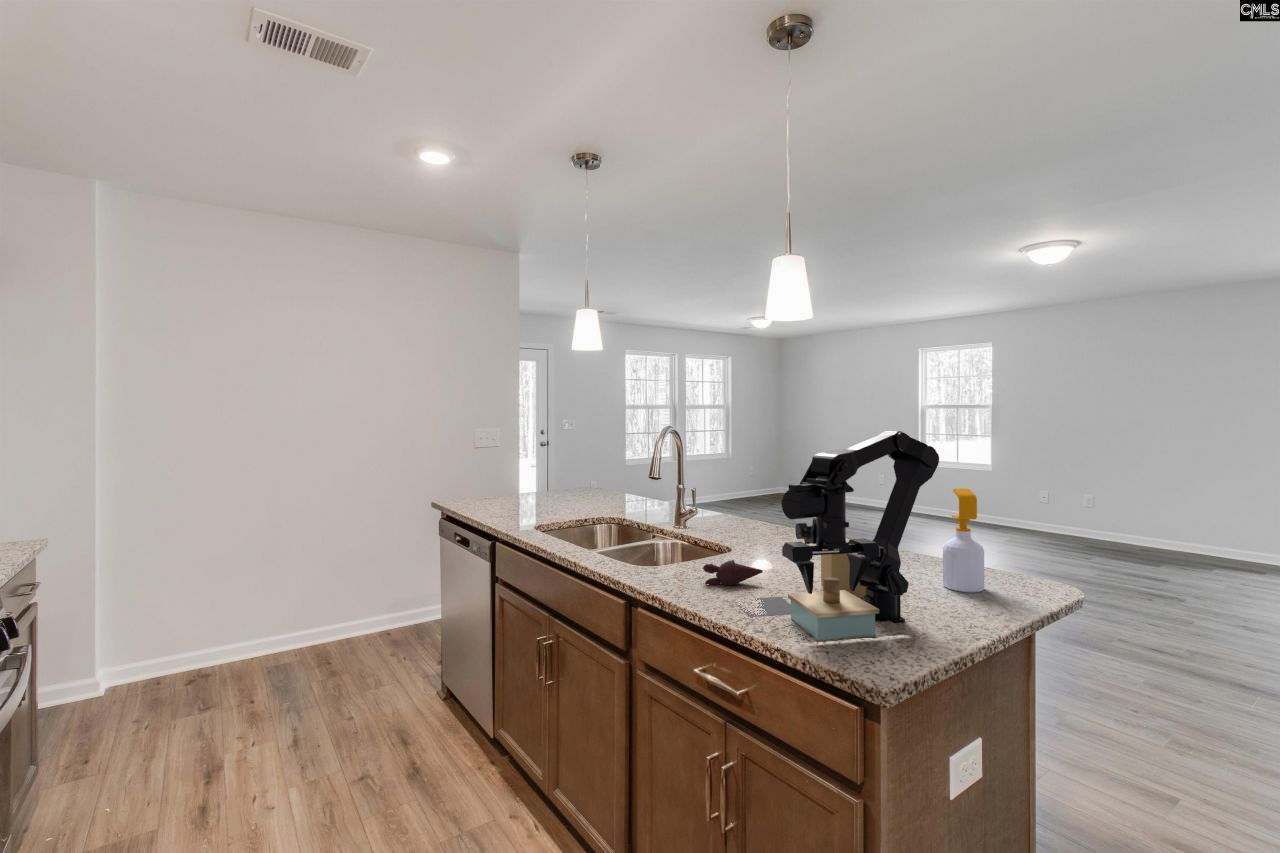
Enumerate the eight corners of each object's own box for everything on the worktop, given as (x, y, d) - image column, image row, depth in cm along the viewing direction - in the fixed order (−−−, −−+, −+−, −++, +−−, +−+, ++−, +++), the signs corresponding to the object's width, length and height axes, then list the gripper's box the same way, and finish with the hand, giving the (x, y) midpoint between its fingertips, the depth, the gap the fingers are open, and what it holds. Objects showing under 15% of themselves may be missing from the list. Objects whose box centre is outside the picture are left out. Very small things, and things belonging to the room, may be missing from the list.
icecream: (759, 557, 156) (701, 562, 157) (762, 556, 149) (702, 562, 150) (762, 584, 155) (704, 589, 155) (766, 585, 148) (706, 590, 148)
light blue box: (843, 617, 128) (843, 594, 128) (875, 638, 116) (875, 612, 116) (791, 621, 126) (790, 598, 126) (817, 643, 114) (817, 617, 114)
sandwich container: (896, 597, 142) (895, 534, 142) (831, 598, 142) (831, 535, 142) (881, 587, 151) (881, 528, 150) (820, 587, 151) (820, 528, 150)
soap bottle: (973, 582, 153) (973, 487, 152) (991, 593, 144) (991, 491, 143) (937, 582, 154) (936, 487, 153) (952, 592, 144) (951, 491, 144)
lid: (844, 593, 128) (844, 569, 128) (879, 613, 115) (879, 586, 115) (787, 597, 126) (787, 573, 126) (816, 618, 113) (816, 590, 113)
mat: (780, 599, 141) (779, 596, 141) (802, 615, 129) (802, 613, 129) (731, 602, 139) (731, 599, 139) (749, 619, 127) (749, 616, 127)
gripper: (852, 507, 130) (852, 578, 130) (771, 510, 127) (771, 584, 127) (881, 515, 119) (881, 593, 119) (793, 519, 116) (794, 599, 116)
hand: (831, 592), depth 121 cm, fingers open, 9 cm apart
